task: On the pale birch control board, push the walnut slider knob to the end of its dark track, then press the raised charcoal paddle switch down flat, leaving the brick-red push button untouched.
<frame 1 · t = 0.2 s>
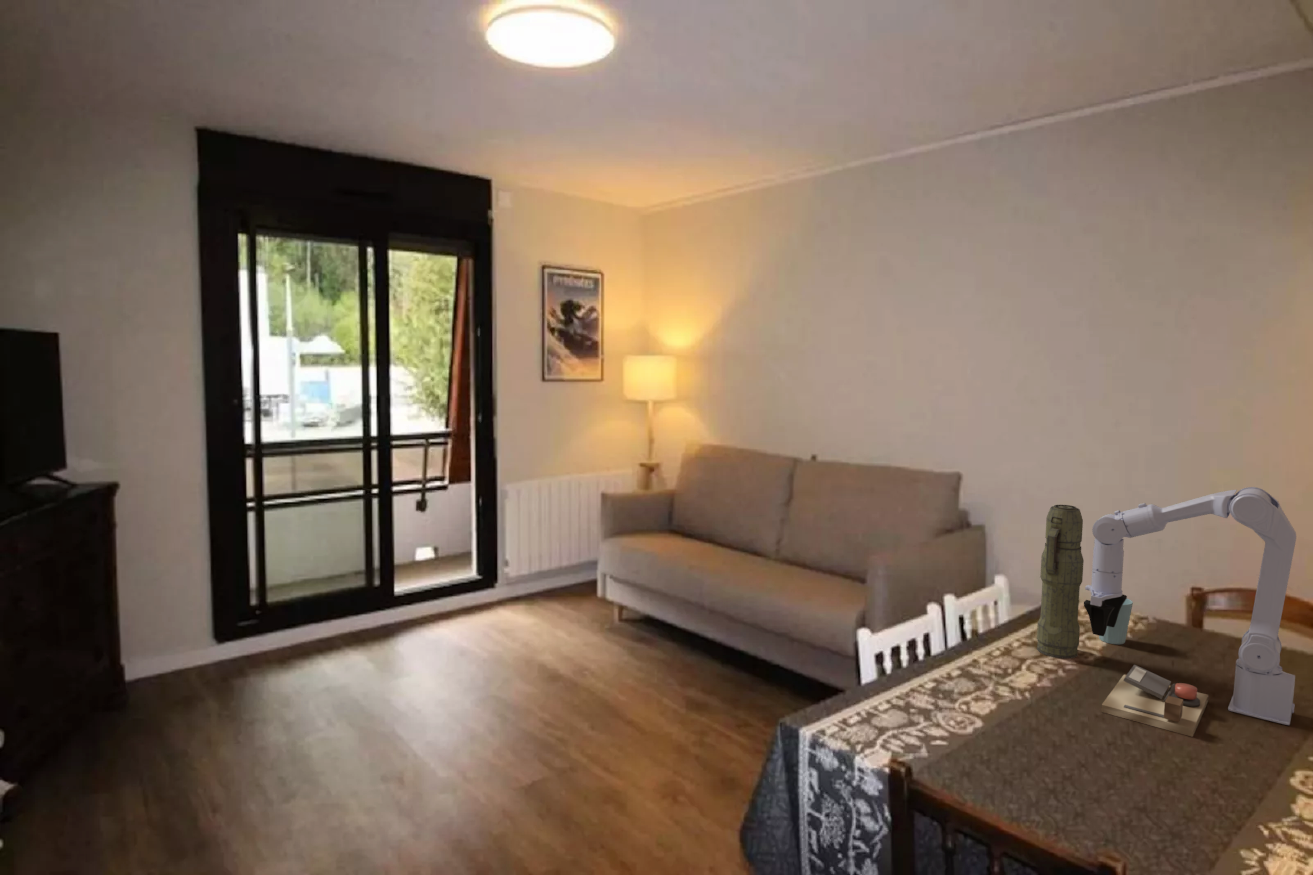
hand: (1103, 630, 170), 10 cm above the table, tool pointing down, fingers open, 7 cm apart
thermos: (1056, 652, 184), on the table
paddle switch: (1147, 681, 159), point 3 cm above the table, hinge at -15.0°
control panel: (1155, 706, 155), on the table
cup: (1111, 641, 191), on the table
slider knob: (1173, 708, 146), point 4 cm above the table, slide at 0.0 cm
push button: (1185, 691, 154), point 4 cm above the table, slide at 0.0 cm
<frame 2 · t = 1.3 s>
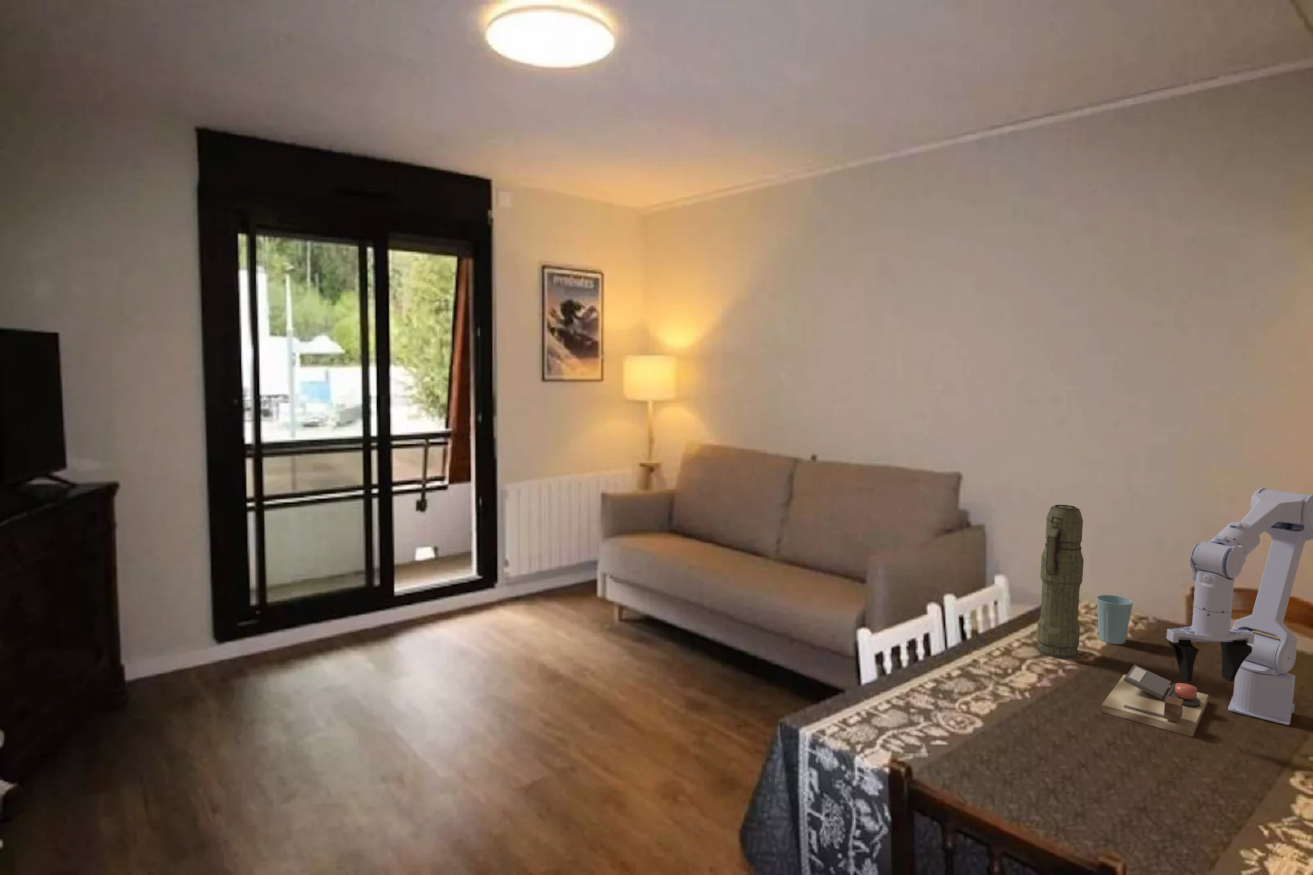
hand: (1206, 679, 143), 10 cm above the table, tool pointing down, fingers open, 7 cm apart
nothing on the table moved.
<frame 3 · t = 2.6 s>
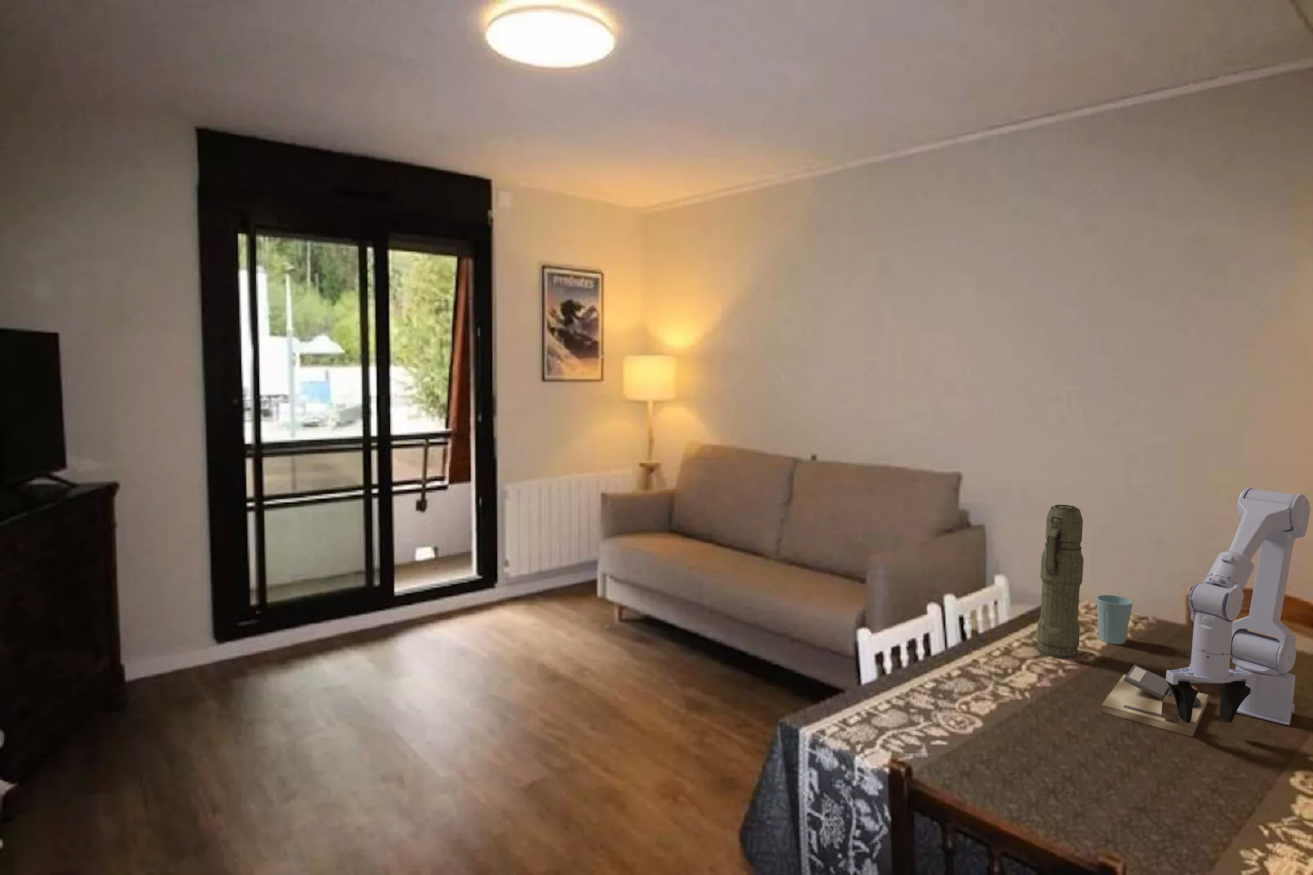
hand: (1205, 720, 143), 3 cm above the table, tool pointing down, fingers open, 7 cm apart
slider knob: (1170, 708, 146), point 4 cm above the table, slide at 0.4 cm, touching gripper
everything else where it was.
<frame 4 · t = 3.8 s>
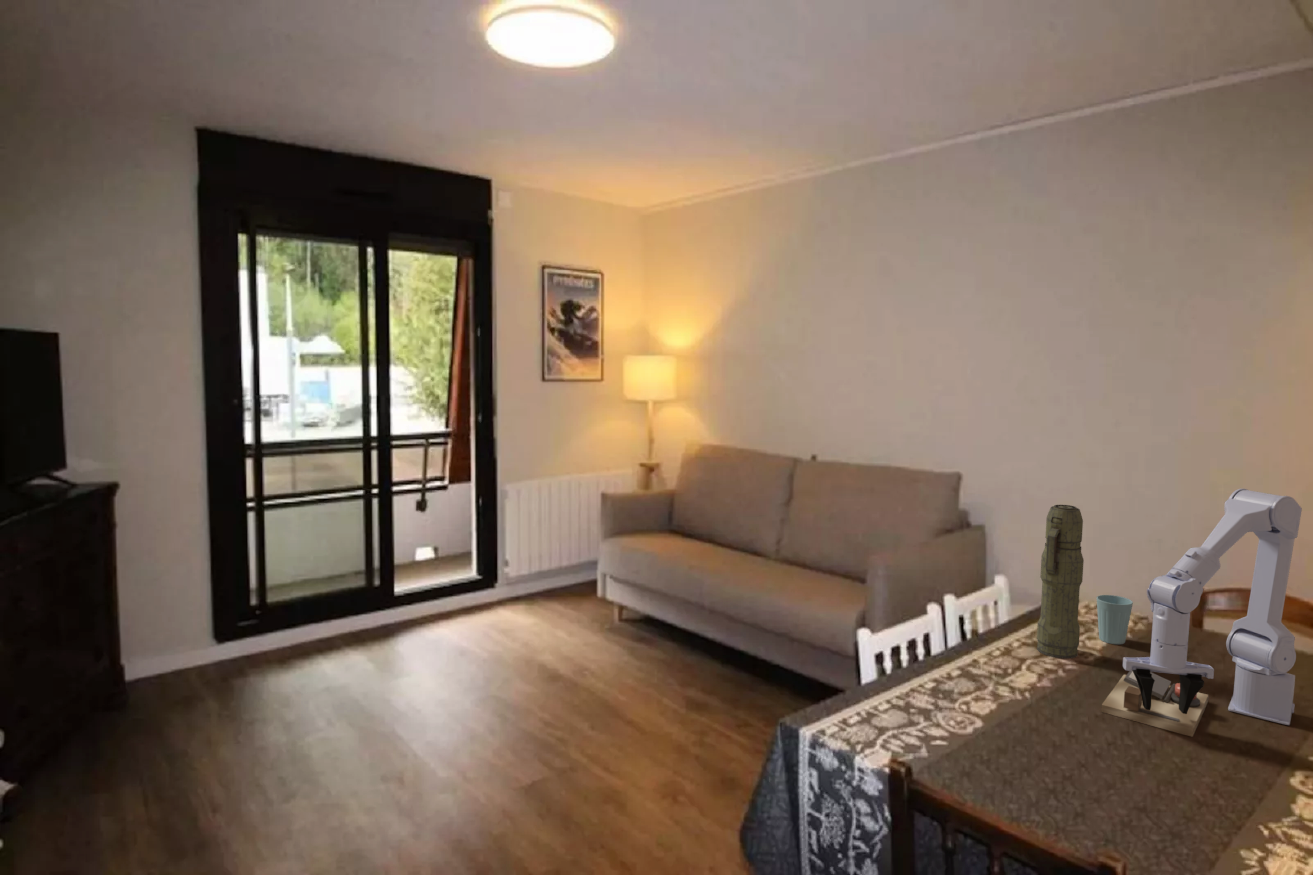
hand: (1164, 709, 147), 3 cm above the table, tool pointing down, fingers open, 6 cm apart
slider knob: (1133, 698, 151), point 4 cm above the table, slide at 6.6 cm, touching gripper
everything else where it was.
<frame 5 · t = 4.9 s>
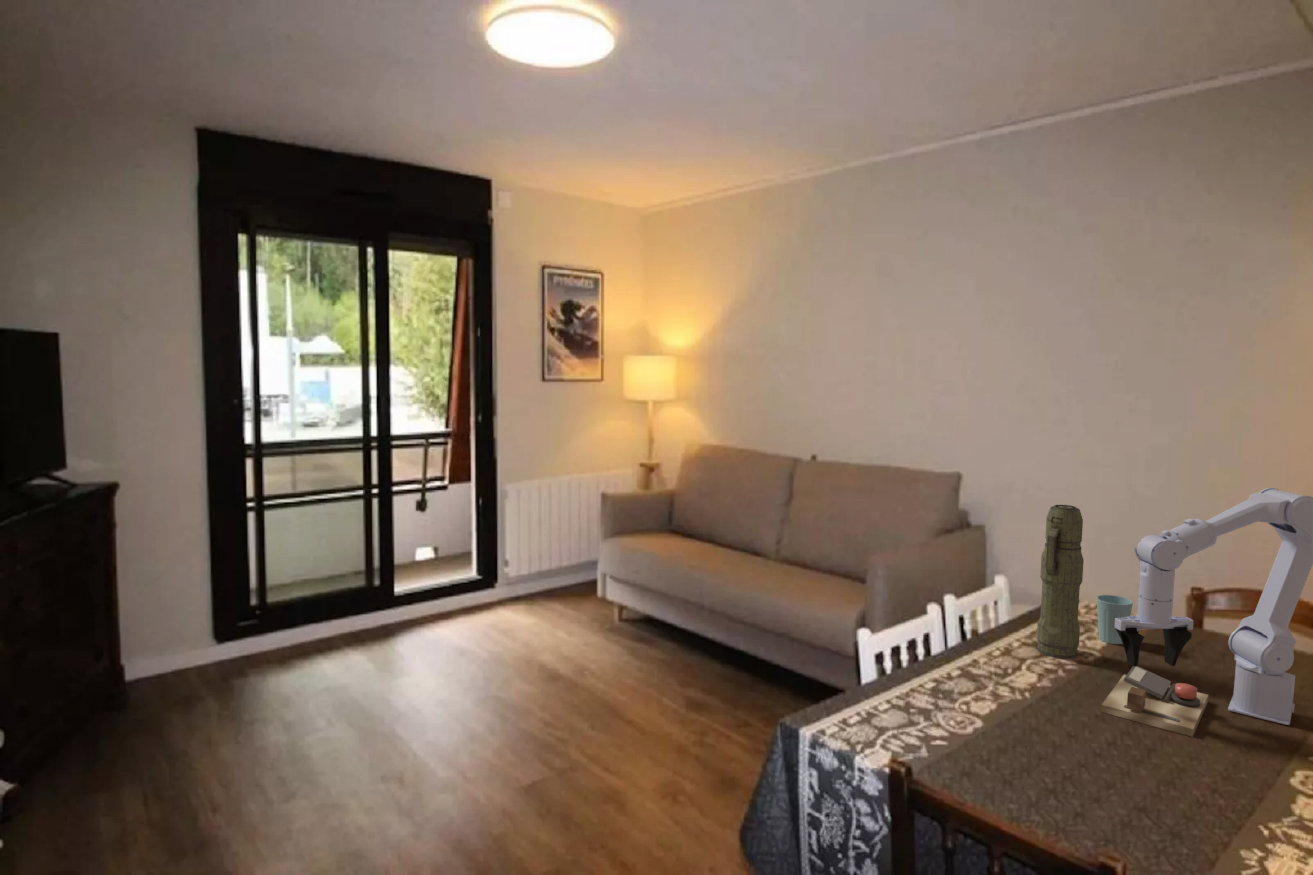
hand: (1151, 664, 153), 9 cm above the table, tool pointing down, fingers open, 7 cm apart
slider knob: (1136, 699, 150), point 4 cm above the table, slide at 6.1 cm
everything else where it was.
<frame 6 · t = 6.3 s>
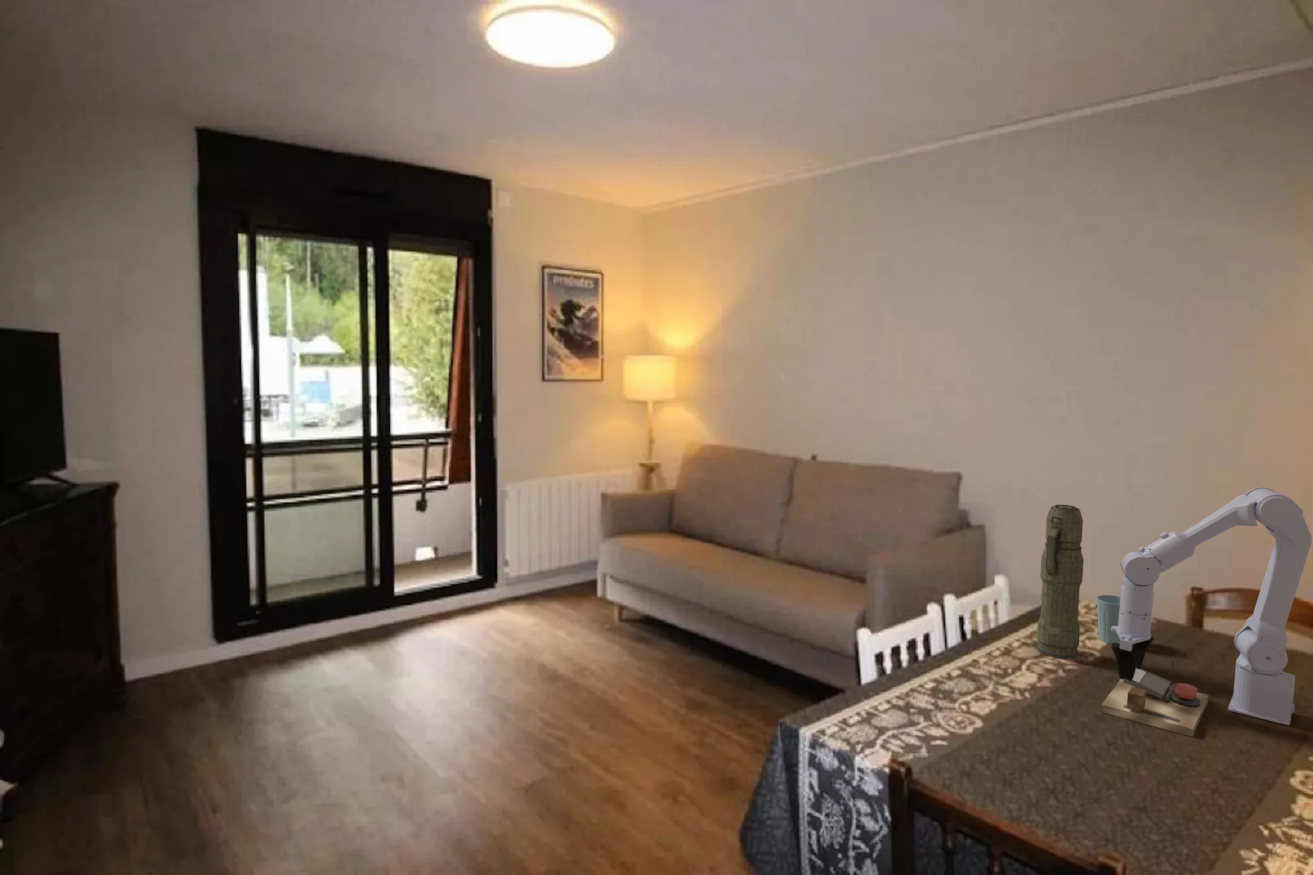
hand: (1129, 673, 161), 4 cm above the table, tool pointing down
paddle switch: (1147, 681, 159), point 3 cm above the table, hinge at -12.7°, touching gripper
everything else where it was.
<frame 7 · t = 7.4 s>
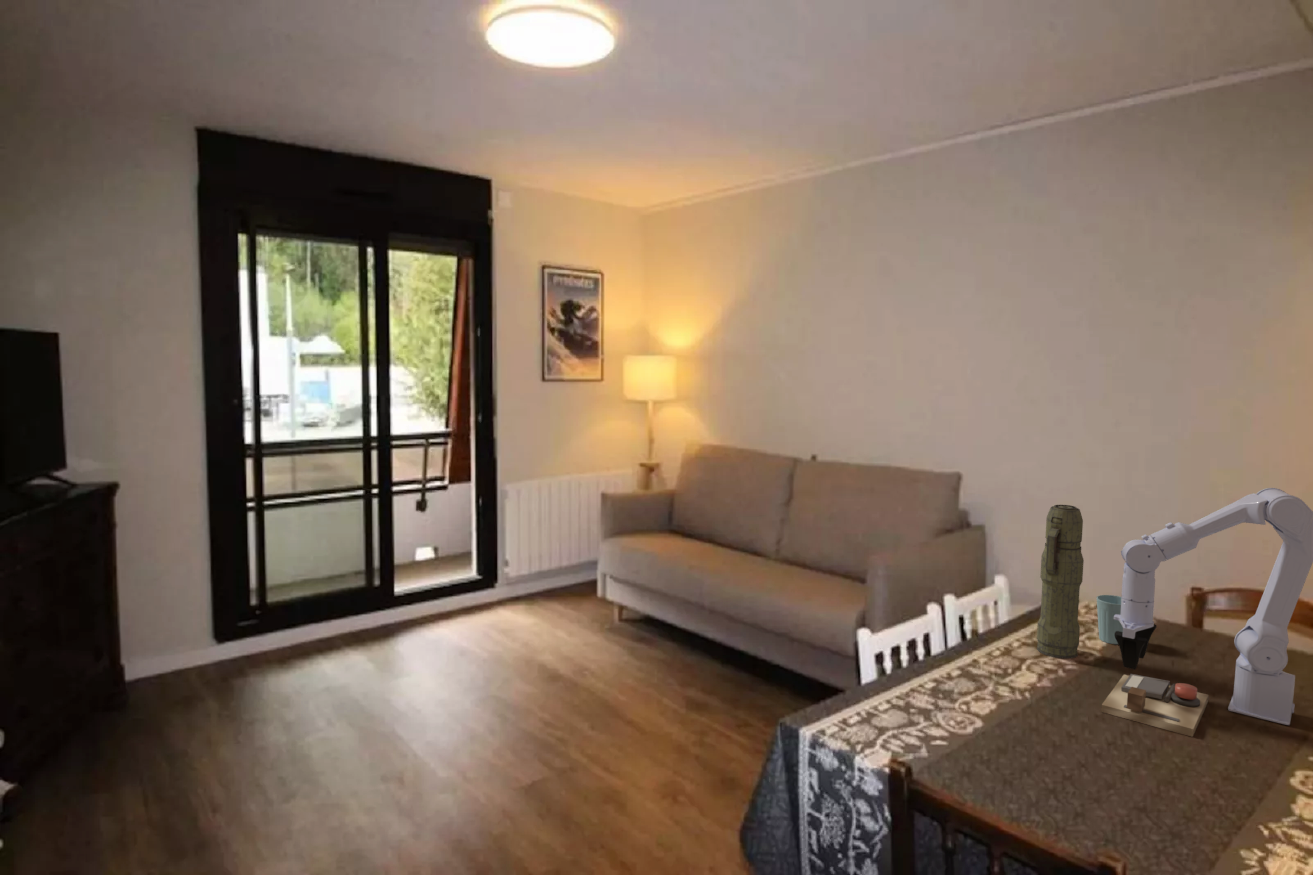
hand: (1133, 662, 161), 7 cm above the table, tool pointing down, fingers open, 7 cm apart
paddle switch: (1145, 685, 160), point 2 cm above the table, hinge at 3.4°
everything else where it was.
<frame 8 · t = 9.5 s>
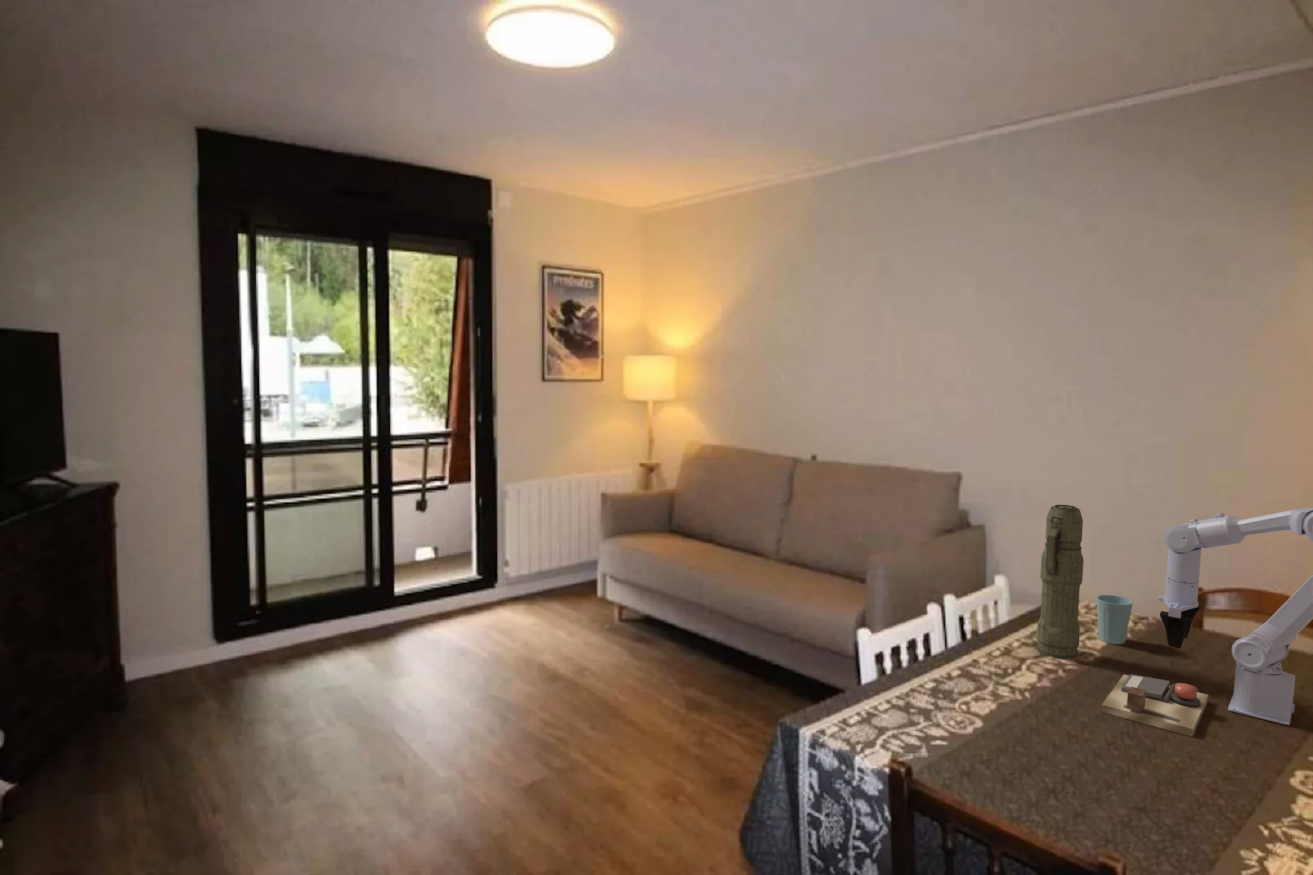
hand: (1177, 641, 165), 9 cm above the table, tool pointing down, fingers open, 7 cm apart
paddle switch: (1145, 686, 160), point 2 cm above the table, hinge at 4.1°
everything else where it was.
at the end: slider knob slide at 6.1 cm; paddle switch at +4° (first picture: -15°); push button slide at 0.0 cm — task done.
